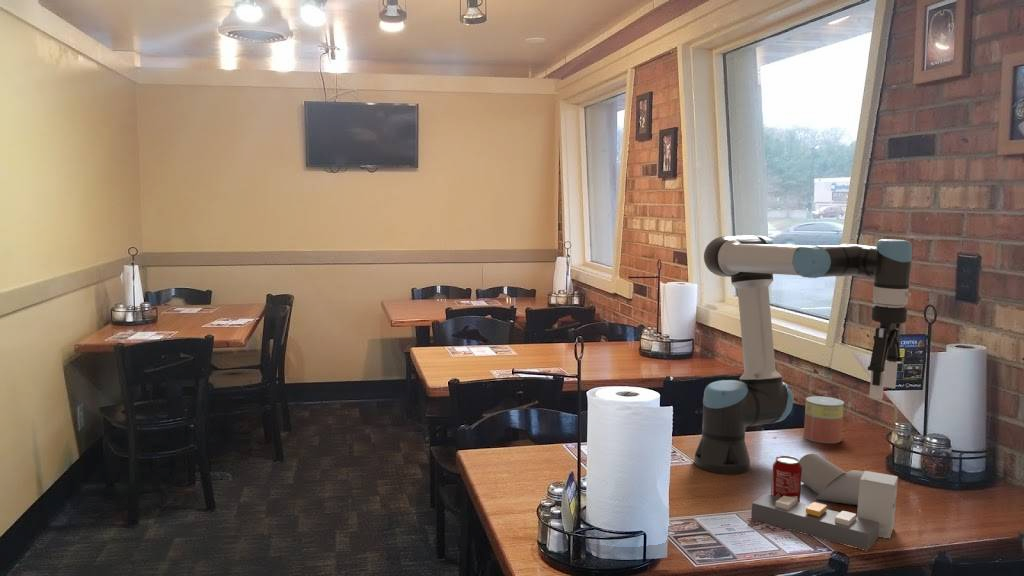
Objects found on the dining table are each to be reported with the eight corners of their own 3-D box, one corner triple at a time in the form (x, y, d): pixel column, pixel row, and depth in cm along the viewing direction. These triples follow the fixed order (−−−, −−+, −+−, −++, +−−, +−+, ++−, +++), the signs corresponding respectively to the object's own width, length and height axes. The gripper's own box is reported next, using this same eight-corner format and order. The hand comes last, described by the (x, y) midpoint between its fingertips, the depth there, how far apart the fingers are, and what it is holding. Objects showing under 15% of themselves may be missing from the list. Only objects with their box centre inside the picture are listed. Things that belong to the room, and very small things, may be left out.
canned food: (842, 435, 259) (844, 398, 258) (840, 445, 249) (843, 407, 248) (804, 430, 264) (807, 394, 262) (801, 440, 254) (804, 402, 252)
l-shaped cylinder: (793, 499, 201) (881, 511, 194) (795, 456, 202) (883, 466, 195) (794, 490, 218) (876, 501, 211) (797, 450, 219) (878, 460, 212)
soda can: (801, 513, 195) (804, 464, 194) (771, 510, 197) (774, 462, 195) (797, 502, 202) (800, 456, 201) (768, 500, 203) (771, 453, 202)
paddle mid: (805, 513, 184) (805, 508, 184) (813, 506, 188) (813, 501, 188) (819, 516, 183) (819, 511, 182) (826, 510, 186) (826, 505, 186)
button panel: (751, 519, 191) (752, 497, 191) (764, 509, 197) (765, 488, 197) (866, 551, 175) (868, 528, 174) (877, 539, 181) (879, 517, 180)
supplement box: (890, 540, 181) (894, 485, 180) (854, 532, 185) (858, 478, 183) (894, 528, 187) (898, 475, 186) (860, 521, 191) (864, 469, 190)
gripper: (895, 312, 180) (887, 406, 183) (917, 301, 200) (910, 385, 203) (859, 309, 184) (852, 400, 187) (885, 298, 204) (878, 380, 207)
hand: (882, 392), depth 195 cm, fingers open, 13 cm apart
